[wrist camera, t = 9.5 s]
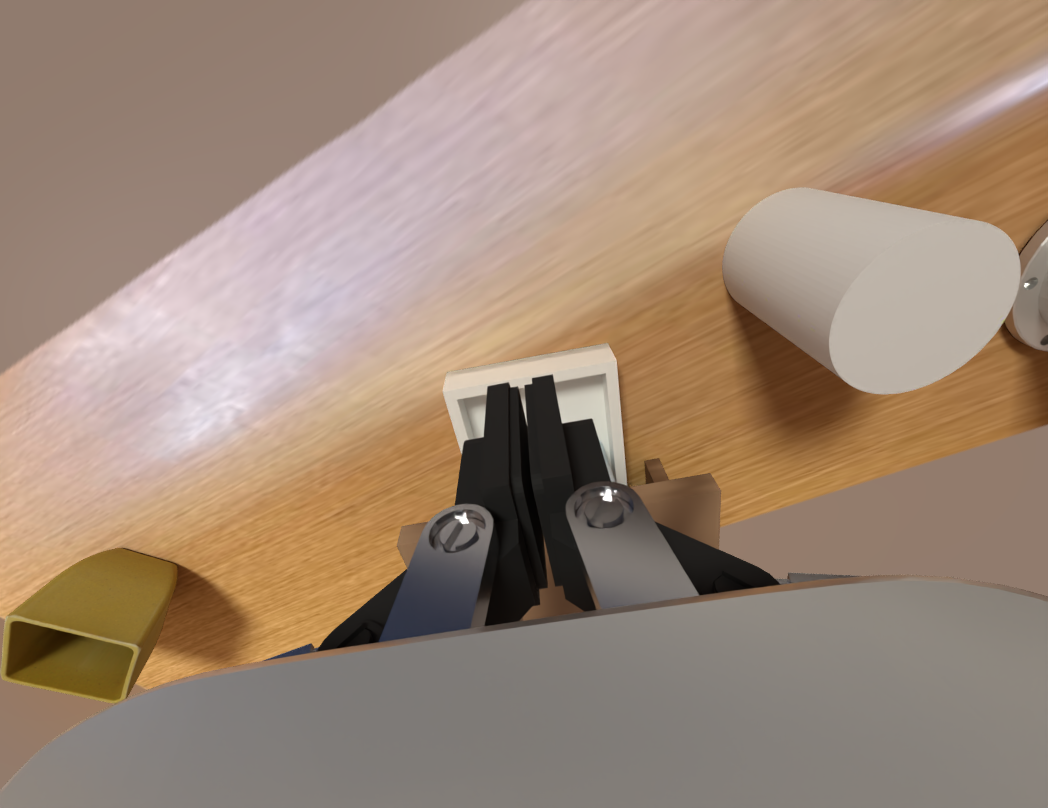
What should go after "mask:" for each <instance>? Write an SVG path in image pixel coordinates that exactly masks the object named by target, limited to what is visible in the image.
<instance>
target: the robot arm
mask: <svg viewBox="0 0 1048 808" xmlns="http://www.w3.org/2000/svg"><path fill="white" fill-rule="evenodd" d="M1019 259H1020V266H1021V275H1020V283H1019V288H1018V292H1017V295H1016V298H1015V301H1014V303H1013V305H1012V308H1011V310H1010V312H1009V314H1008V316H1007V317H1006V319H1005V324H1006V327H1007V329H1008V330H1009V331H1010V333H1011V334H1012V336H1013V337H1014V338H1016V339H1017V340H1019V341H1020V342H1022V343H1023V344H1026V345H1028V346H1030V347H1033V348H1035V349H1038V350H1042V351H1047V352H1048V221H1047V222H1046V223H1045V224H1044V225H1043V226H1042V227H1041V228H1040V229H1039V230H1038V231H1037V232H1036V234H1035V235H1034V236H1033V237H1032V239H1031V240H1030V241H1029V243H1028V244H1027V245H1026V247H1025V248H1024V249H1023V251H1022V252H1021V254H1020V256H1019ZM524 387H525V401H526V416H527V423H526V419H525V414H524V410H523V405H522V401H521V396H520V392H519V388H518V386H517V387H510V384H509V382H507V383H502V384H496V385H491V386H488V387H487V398H486V411H485V424H484V437H481V438H475V439H470V440H465V441H464V444H463V450H462V458H461V465H460V472H459V479H458V487H457V494H456V501H455V506H452V507H450V508H447V509H444V510H443V511H441V512H440V513H438V514H436V515H435V516H434V517H433V518H432V519H431V520H430V521H429V522H428V523H427V524H426V526H425V528H424V529H423V531H422V533H421V536H420V538H419V541H418V543H417V546H416V548H415V551H414V554H413V556H412V559H411V561H410V564H409V566H408V569H406V570H405V571H404V572H403V573H402V574H400V575H399V576H398V577H397V578H396V579H394V580H393V581H392V582H391V583H390V584H388V585H387V586H386V587H385V588H384V589H382V590H381V591H380V592H379V593H378V594H376V595H375V596H374V597H373V598H372V599H370V600H369V601H368V602H367V603H366V604H364V605H363V606H362V607H361V608H360V609H358V610H357V611H356V612H355V613H354V614H352V615H351V616H350V617H349V618H348V619H346V620H345V621H344V622H343V623H342V624H340V625H339V626H338V627H337V628H336V629H334V630H333V631H332V632H331V633H330V634H329V635H328V637H327V638H326V639H325V640H324V641H323V642H322V644H321V645H320V647H318V648H314V647H313V645H312V644H308V645H305V646H302V647H300V648H297V649H294V650H291V651H288V652H286V653H283V654H280V655H277V656H275V657H272V658H269V659H266V660H263V661H260V662H254V663H248V664H243V665H238V666H233V667H228V668H223V669H218V670H213V671H209V672H204V673H200V674H196V675H193V676H189V677H186V678H182V679H178V680H175V681H171V682H168V683H165V684H162V685H159V686H157V687H154V688H151V689H148V690H146V691H143V692H140V693H138V694H135V695H132V696H130V697H128V698H126V699H124V700H122V701H120V702H118V703H116V704H114V705H112V706H110V707H107V708H105V709H103V710H101V711H99V712H97V713H95V714H93V715H91V716H90V717H88V718H86V719H85V720H83V721H81V722H79V723H78V724H76V725H74V726H73V727H71V728H70V729H68V730H66V731H65V732H63V733H62V734H60V735H59V736H57V737H56V738H55V739H53V740H52V741H50V742H49V743H48V744H47V745H45V746H44V747H43V748H42V749H41V750H39V751H38V752H37V753H36V754H35V755H34V756H32V757H31V759H29V761H27V762H26V764H25V765H23V766H22V768H20V770H18V772H16V774H15V775H14V776H13V777H12V778H11V779H10V780H9V781H8V782H7V783H6V785H5V786H4V787H3V788H2V789H1V790H0V808H1048V597H1047V596H1044V595H1040V594H1037V593H1033V592H1030V591H1026V590H1022V589H1017V588H1013V587H1009V586H1004V585H1000V584H993V583H986V582H980V581H973V580H966V579H960V578H953V577H938V576H921V575H875V576H874V575H873V576H850V575H827V574H805V573H788V578H787V579H774V578H773V577H772V576H771V575H770V574H769V573H767V572H765V571H764V570H762V569H760V568H759V567H757V566H754V565H752V564H750V563H748V562H746V561H743V560H741V559H739V558H737V557H734V556H732V555H730V554H727V553H725V552H723V551H721V550H718V549H716V548H714V547H712V546H709V545H707V544H705V543H703V542H700V541H698V540H696V539H694V538H691V537H689V536H687V535H685V534H682V533H680V532H678V531H675V530H673V529H671V528H669V527H666V526H664V525H662V524H660V523H657V522H655V521H654V520H653V518H652V516H651V515H650V513H649V511H648V510H647V508H646V506H645V505H644V503H643V501H642V500H641V498H640V497H639V495H638V494H637V493H636V492H635V491H634V490H633V489H631V488H630V487H628V486H626V485H624V484H621V483H617V482H611V480H610V476H609V473H608V469H607V466H606V463H605V459H604V456H603V452H602V449H601V446H600V442H599V439H598V435H597V432H596V429H595V425H594V422H593V419H592V418H590V419H585V420H579V421H573V422H567V423H562V421H561V416H560V410H559V405H558V400H557V394H556V389H555V384H554V378H553V374H552V375H546V376H540V377H535V378H532V384H528V385H524ZM544 540H545V545H546V549H547V553H548V557H549V562H550V566H551V570H552V575H553V579H554V583H555V587H558V586H563V590H564V595H565V599H566V600H567V601H569V602H571V603H572V604H574V605H575V606H577V607H578V608H580V609H581V610H583V611H584V612H580V613H573V614H566V615H559V616H552V617H545V618H538V619H532V620H525V621H523V616H524V615H525V614H526V613H527V612H528V611H529V610H530V609H531V608H532V606H538V605H540V592H539V589H545V588H548V580H547V569H546V558H545V547H544Z"/></svg>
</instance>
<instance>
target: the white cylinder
mask: <svg viewBox="0 0 1048 808" xmlns="http://www.w3.org/2000/svg"><path fill="white" fill-rule="evenodd" d="M722 269H723V278H724V282H725V285H726V288H727V290H728V292H729V293H730V295H731V296H732V297H733V299H734V300H735V301H736V302H738V303H739V304H740V305H742V306H743V307H744V308H746V309H747V310H748V311H750V312H751V313H752V314H754V315H755V316H757V317H758V318H759V319H761V320H762V321H763V322H765V323H766V324H767V325H769V326H770V327H772V328H773V329H774V330H776V331H777V332H778V333H780V334H781V335H782V336H784V337H785V338H786V339H788V340H789V341H791V342H792V343H793V344H795V345H796V346H797V347H799V348H800V349H801V350H803V351H804V352H806V353H807V354H808V355H810V356H811V357H812V358H814V359H815V360H816V361H818V362H819V363H821V364H822V365H823V366H825V367H826V368H827V369H829V370H830V371H831V372H833V373H834V374H836V375H837V376H838V377H840V378H841V379H842V380H844V381H845V382H846V383H848V384H849V385H851V386H852V387H854V388H856V389H859V390H861V391H864V392H868V393H874V394H896V393H903V392H907V391H912V390H915V389H918V388H921V387H924V386H927V385H929V384H931V383H934V382H936V381H938V380H940V379H942V378H944V377H945V376H947V375H949V374H950V373H952V372H954V371H955V370H957V369H958V368H960V367H961V366H962V365H964V364H965V363H966V362H968V361H969V360H970V359H971V358H972V357H974V356H975V355H976V354H977V353H978V352H979V351H980V350H981V349H982V348H983V347H984V346H985V345H986V344H987V343H988V342H989V341H990V340H991V338H992V337H993V336H994V335H995V333H996V332H997V331H998V330H999V328H1000V327H1001V325H1002V324H1003V322H1004V321H1005V319H1006V317H1007V316H1008V314H1009V312H1010V310H1011V308H1012V305H1013V303H1014V301H1015V298H1016V295H1017V292H1018V288H1019V283H1020V275H1021V266H1020V259H1019V255H1018V251H1017V249H1016V247H1015V245H1014V243H1013V242H1012V240H1011V239H1010V238H1009V236H1008V235H1007V234H1005V233H1004V232H1003V231H1002V230H1000V229H999V228H997V227H995V226H993V225H991V224H988V223H985V222H981V221H977V220H971V219H966V218H961V217H956V216H951V215H946V214H940V213H935V212H930V211H925V210H920V209H915V208H910V207H904V206H899V205H894V204H889V203H884V202H879V201H874V200H868V199H863V198H858V197H853V196H848V195H843V194H838V193H832V192H827V191H822V190H817V189H812V188H791V189H787V190H783V191H780V192H777V193H775V194H773V195H771V196H769V197H767V198H765V199H764V200H762V201H761V202H759V203H758V204H756V205H755V206H754V207H753V208H752V209H751V210H749V211H748V212H747V213H746V214H745V216H744V217H743V218H742V219H741V220H740V222H739V223H738V224H737V226H736V227H735V229H734V230H733V232H732V234H731V236H730V238H729V240H728V243H727V245H726V248H725V252H724V257H723V266H722Z"/></svg>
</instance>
